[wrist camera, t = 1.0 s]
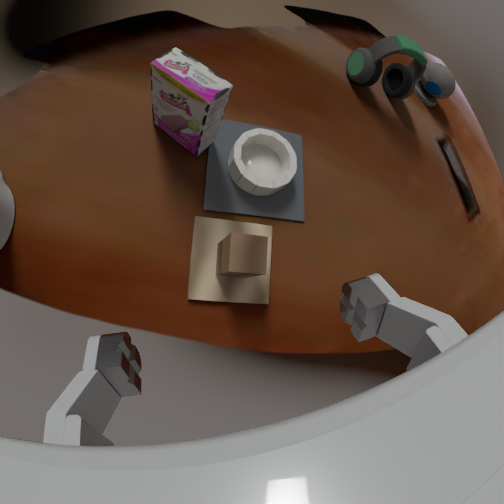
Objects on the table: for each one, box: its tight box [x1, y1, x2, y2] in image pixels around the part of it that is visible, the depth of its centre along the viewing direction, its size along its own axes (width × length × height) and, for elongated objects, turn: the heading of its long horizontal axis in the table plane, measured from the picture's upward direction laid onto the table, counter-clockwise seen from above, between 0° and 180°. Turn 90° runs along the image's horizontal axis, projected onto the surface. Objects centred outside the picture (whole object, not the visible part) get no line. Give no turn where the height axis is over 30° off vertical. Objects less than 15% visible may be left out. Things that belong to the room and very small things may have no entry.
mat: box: [203, 119, 304, 222], centre depth 50 cm, size 18×18×1 cm
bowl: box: [228, 128, 297, 196], centre depth 48 cm, size 11×11×4 cm
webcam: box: [414, 63, 455, 107], centre depth 68 cm, size 13×13×15 cm
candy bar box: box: [151, 47, 233, 157], centre depth 39 cm, size 11×5×16 cm, turn 51°
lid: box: [188, 216, 272, 304], centre depth 42 cm, size 13×13×10 cm
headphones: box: [346, 35, 427, 99], centre depth 56 cm, size 19×11×20 cm, turn 94°
